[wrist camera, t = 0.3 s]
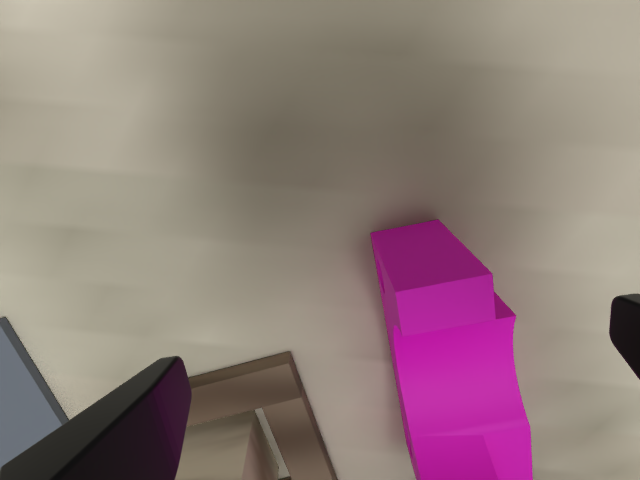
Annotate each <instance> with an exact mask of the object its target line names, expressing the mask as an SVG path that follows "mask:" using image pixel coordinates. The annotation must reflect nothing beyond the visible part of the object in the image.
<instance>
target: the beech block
mask: <svg viewBox="0 0 640 480" xmlns="http://www.w3.org/2000/svg"><path fill="white" fill-rule="evenodd" d="M278 469H279V467H278V464H277V462H276V460H275V457H274V455H273V453H272V450H271V448H270V446H269V443H268V441H267V439H266V436H265V434H264V432H263V429H262V427H261V425H260V422H259V420H258V418H257V415H256V413H255V410H251V411H247V412H243V413H239V414H235V415H231V416H227V417H224V418H220V419H216V420H212V421H208V422H204V423H200V424H196V425H192V426H188V427H186V431H185V436H184V442H183V447H182V452H181V457H180V462H179V466H178V470H177V474H176V477H175V480H278Z"/></svg>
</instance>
